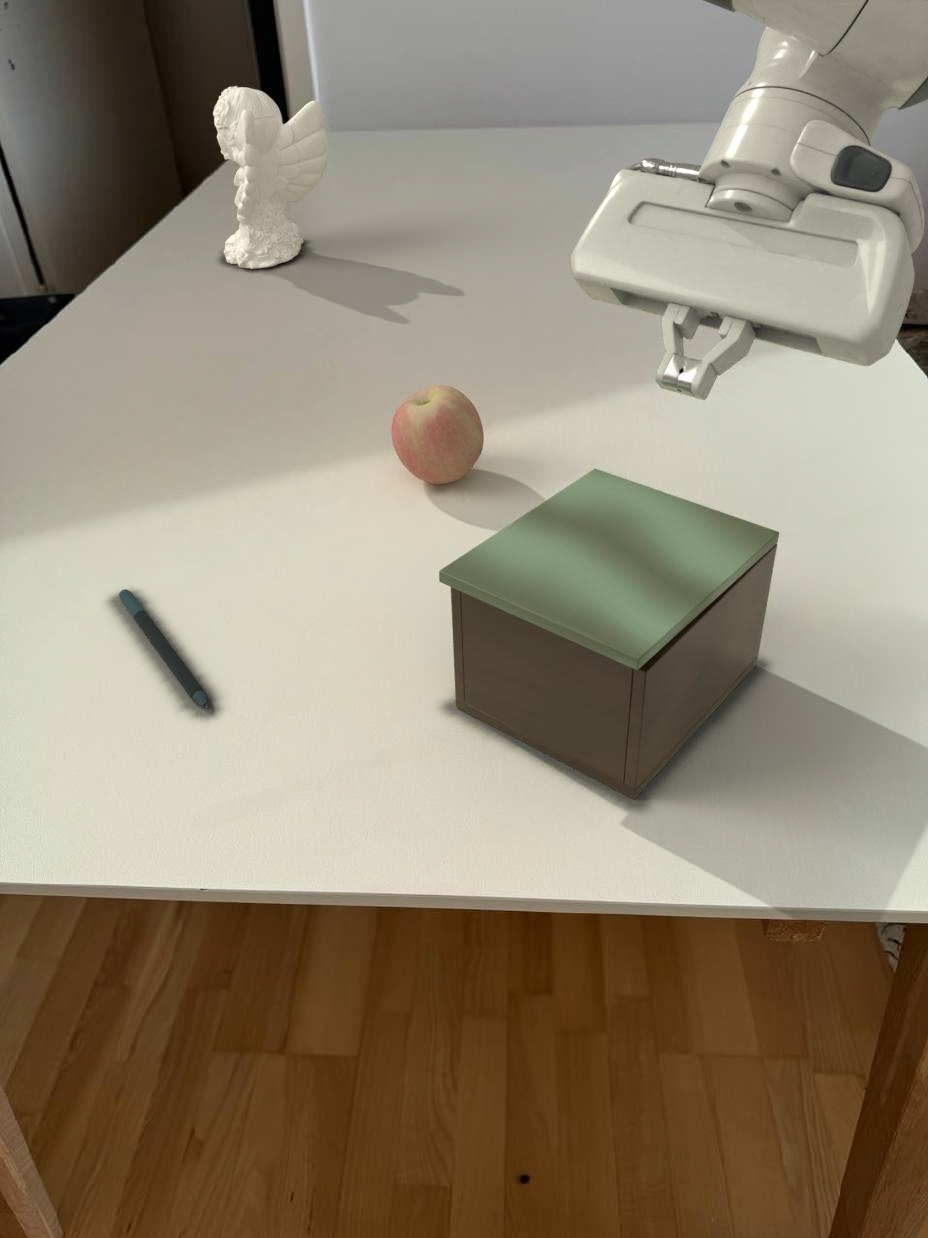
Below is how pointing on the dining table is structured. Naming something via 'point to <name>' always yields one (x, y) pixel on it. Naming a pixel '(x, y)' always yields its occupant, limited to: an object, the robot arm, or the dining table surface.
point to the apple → (437, 434)
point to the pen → (164, 648)
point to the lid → (611, 565)
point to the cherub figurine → (268, 171)
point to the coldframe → (606, 682)
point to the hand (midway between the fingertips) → (679, 390)
